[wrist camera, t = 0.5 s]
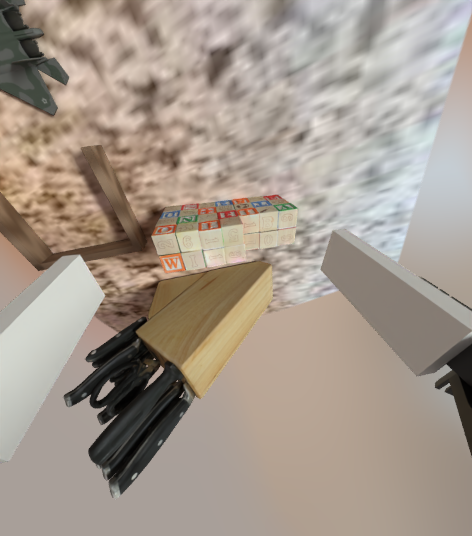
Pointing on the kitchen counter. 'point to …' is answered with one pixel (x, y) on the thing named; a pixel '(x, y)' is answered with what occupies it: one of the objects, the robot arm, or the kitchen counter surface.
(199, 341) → the knife block
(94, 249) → the brown wooden bracket
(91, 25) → the kitchen counter surface
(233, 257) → the stack of blocks
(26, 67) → the fighter jet
